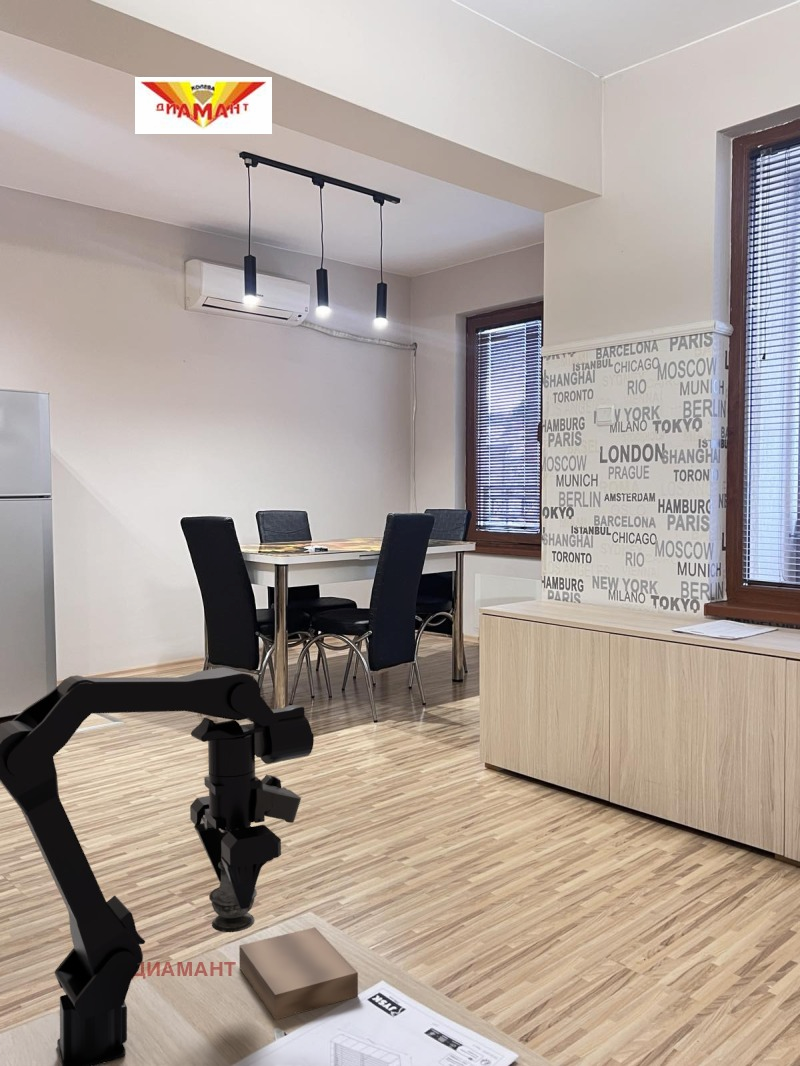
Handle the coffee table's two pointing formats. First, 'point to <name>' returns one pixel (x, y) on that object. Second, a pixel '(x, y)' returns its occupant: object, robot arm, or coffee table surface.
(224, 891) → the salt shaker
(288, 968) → the block
